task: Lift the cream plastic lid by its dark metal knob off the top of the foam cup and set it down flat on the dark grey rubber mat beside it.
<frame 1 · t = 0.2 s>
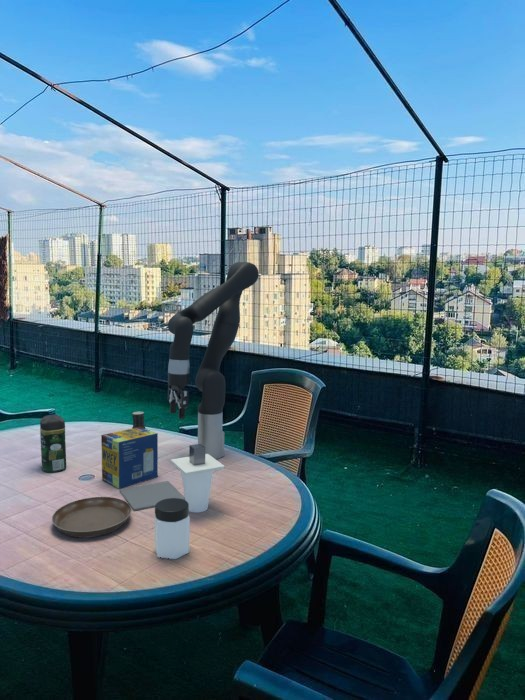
hand: (177, 415, 191), 17 cm above the table, tool pointing down, fingers open, 8 cm apart
jar: (172, 551, 130), on the table
coffee jar: (53, 468, 184), on the table
sauce bottle: (140, 467, 187), on the table, touching protein box
mat: (152, 495, 163), on the table
plant saucer: (92, 524, 144), on the table
protein box: (130, 479, 176), on the table, touching sauce bottle
lid: (197, 465, 153), point 13 cm above the table, touching foam cup
foam cup: (196, 508, 155), on the table, touching lid
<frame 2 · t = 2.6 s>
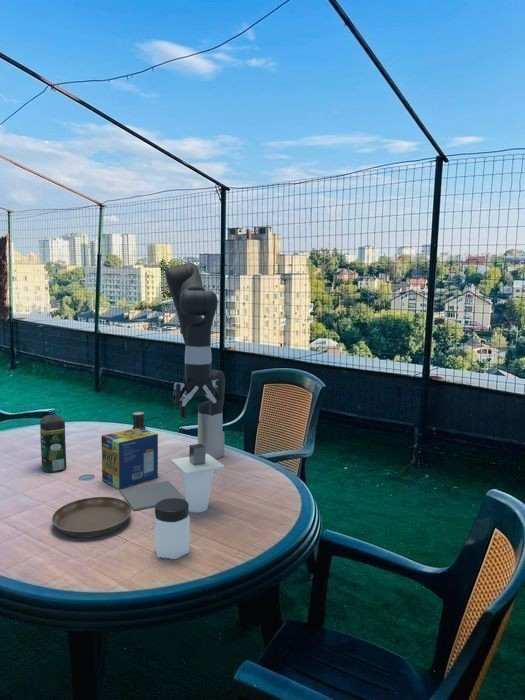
hand: (197, 416, 151), 27 cm above the table, tool pointing down, fingers open, 8 cm apart
sauce bottle: (140, 468, 186), on the table, touching protein box
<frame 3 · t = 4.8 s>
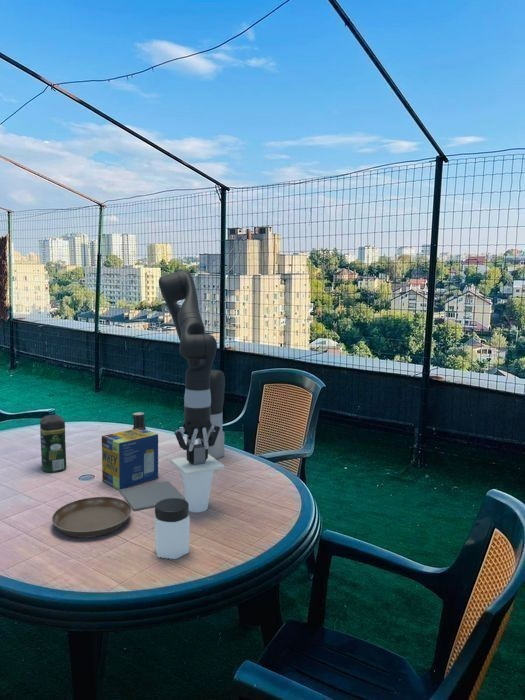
hand: (197, 461, 153), 14 cm above the table, tool pointing down, fingers closed on lid, 3 cm apart
lid: (197, 465, 153), point 13 cm above the table, touching foam cup, gripper
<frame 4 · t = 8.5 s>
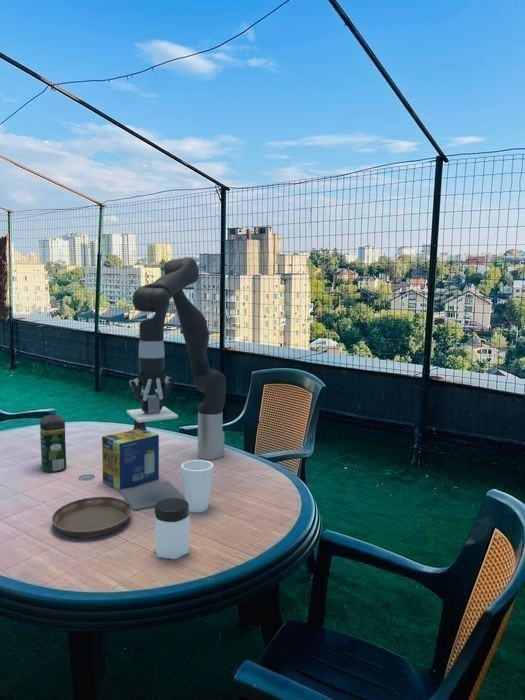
hand: (151, 411, 159), 27 cm above the table, tool pointing down, fingers closed on lid, 3 cm apart
lid: (152, 415, 159), point 26 cm above the table, touching gripper
foam cup: (196, 508, 155), on the table
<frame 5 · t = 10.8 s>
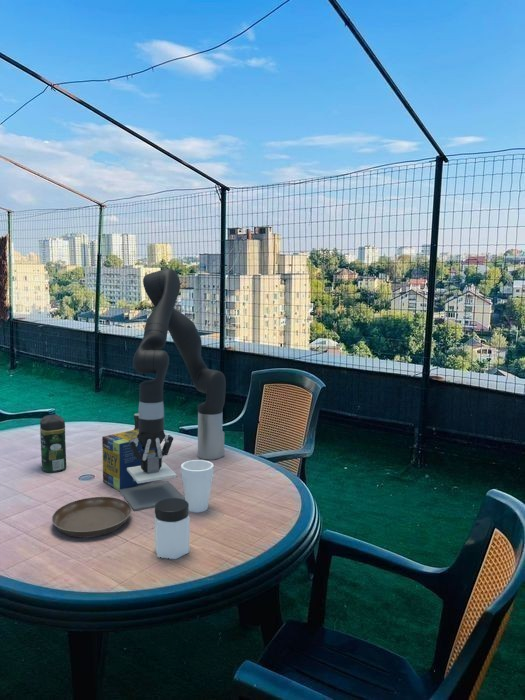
hand: (151, 469, 161), 8 cm above the table, tool pointing down, fingers closed on lid, 3 cm apart
lid: (151, 473, 162), point 7 cm above the table, touching gripper
when the fingers open (4 cm above the table, at t = 12.5 s): lid drops 2 cm, resting on mat.
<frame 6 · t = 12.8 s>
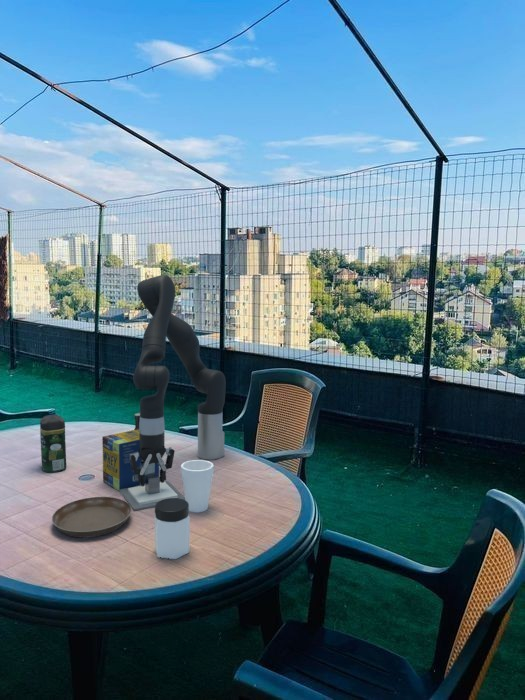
hand: (152, 483, 162), 4 cm above the table, tool pointing down, fingers open, 5 cm apart
lid: (152, 494, 163), point 1 cm above the table, touching mat
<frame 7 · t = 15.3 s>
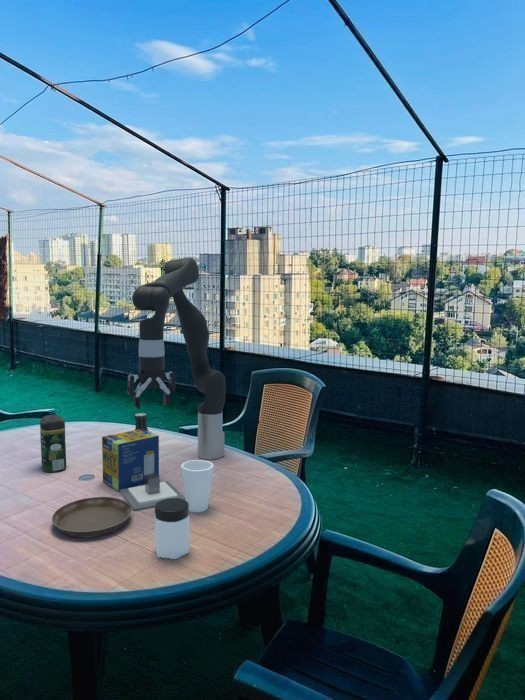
hand: (151, 407, 159), 28 cm above the table, tool pointing down, fingers open, 8 cm apart
protein box: (131, 481, 174), on the table, touching mat, sauce bottle
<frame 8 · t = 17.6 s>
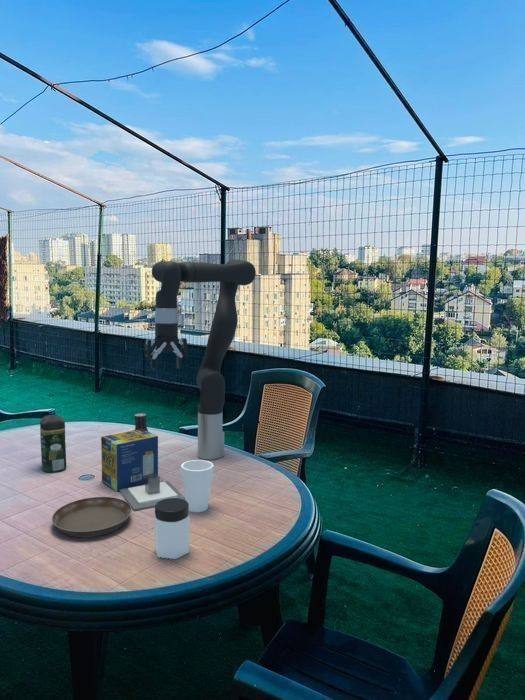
hand: (166, 369, 179), 36 cm above the table, tool pointing down, fingers open, 8 cm apart
protein box: (130, 482, 174), on the table, touching sauce bottle
at the end: lid inside the target area on the mat (0.1 cm from its centre), point 0.6 cm above the mat's base; the gripper is holding nothing; foam cup tilted 0° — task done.
